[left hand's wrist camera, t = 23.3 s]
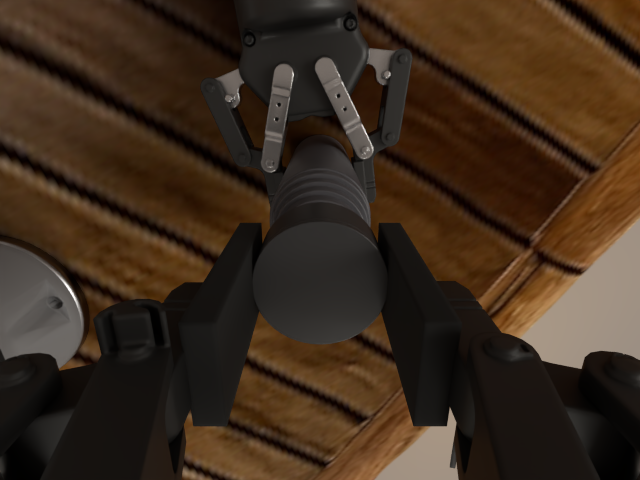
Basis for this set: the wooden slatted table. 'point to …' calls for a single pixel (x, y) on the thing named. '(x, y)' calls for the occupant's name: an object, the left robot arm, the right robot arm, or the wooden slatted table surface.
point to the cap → (320, 274)
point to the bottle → (320, 179)
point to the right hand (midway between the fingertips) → (325, 212)
